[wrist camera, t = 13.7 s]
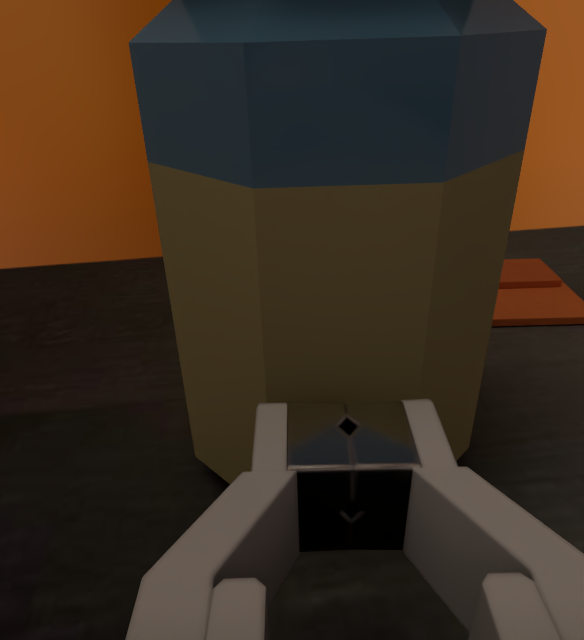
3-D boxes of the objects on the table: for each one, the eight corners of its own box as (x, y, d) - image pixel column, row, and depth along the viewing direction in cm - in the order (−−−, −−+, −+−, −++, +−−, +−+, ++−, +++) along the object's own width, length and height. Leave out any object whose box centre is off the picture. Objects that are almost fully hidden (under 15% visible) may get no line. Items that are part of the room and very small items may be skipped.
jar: (261, 341, 23) (233, -78, 16) (477, 383, 20) (568, -113, 13) (137, 493, 16) (-25, -159, 8) (446, 593, 13) (617, -287, 5)
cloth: (542, 269, 29) (545, 256, 29) (597, 323, 24) (602, 308, 23) (290, 277, 29) (290, 263, 29) (291, 332, 24) (290, 316, 24)
